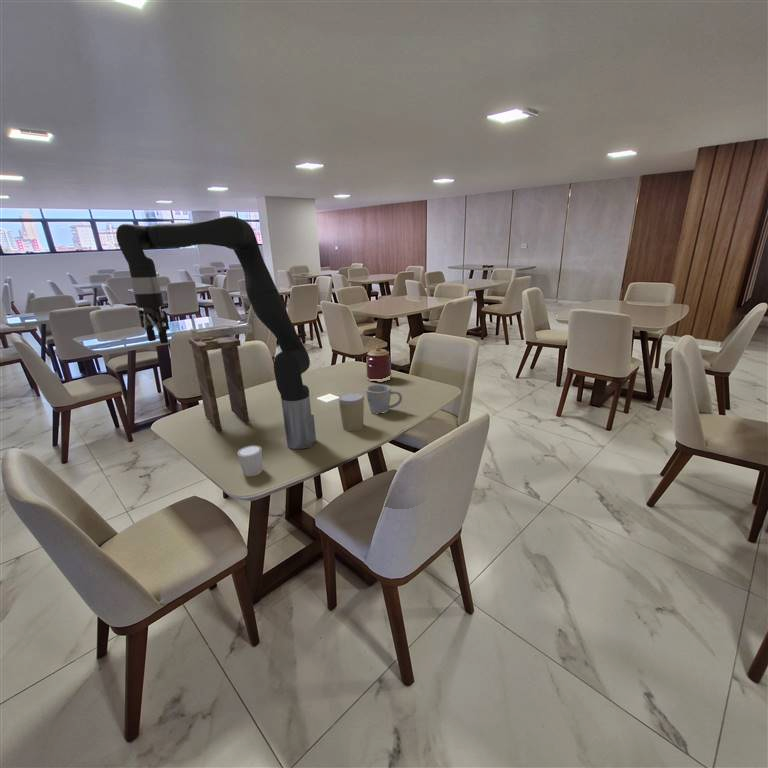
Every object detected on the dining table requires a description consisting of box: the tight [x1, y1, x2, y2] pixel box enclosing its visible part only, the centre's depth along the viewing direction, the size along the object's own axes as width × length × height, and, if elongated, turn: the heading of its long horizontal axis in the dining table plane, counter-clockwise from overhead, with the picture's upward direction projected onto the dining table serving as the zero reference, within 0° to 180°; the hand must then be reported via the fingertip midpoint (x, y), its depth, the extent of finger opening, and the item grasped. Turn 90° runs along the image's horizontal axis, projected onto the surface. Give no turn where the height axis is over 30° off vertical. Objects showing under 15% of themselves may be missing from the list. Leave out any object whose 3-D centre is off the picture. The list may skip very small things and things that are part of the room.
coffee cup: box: [337, 392, 365, 432], centre depth 140 cm, size 9×9×12 cm
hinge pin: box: [190, 324, 253, 340], centre depth 149 cm, size 22×4×4 cm, turn 126°
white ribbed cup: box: [237, 445, 263, 477], centre depth 113 cm, size 7×7×7 cm
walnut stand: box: [188, 335, 250, 432], centre depth 148 cm, size 14×20×34 cm
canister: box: [365, 346, 392, 379], centre depth 196 cm, size 13×13×18 cm
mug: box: [365, 383, 403, 414], centre depth 154 cm, size 10×15×10 cm
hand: (158, 341), depth 125 cm, fingers open, 8 cm apart
